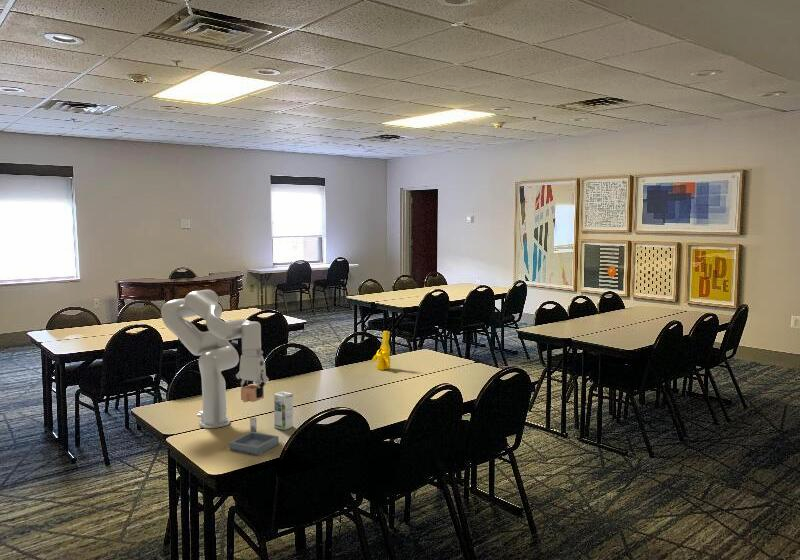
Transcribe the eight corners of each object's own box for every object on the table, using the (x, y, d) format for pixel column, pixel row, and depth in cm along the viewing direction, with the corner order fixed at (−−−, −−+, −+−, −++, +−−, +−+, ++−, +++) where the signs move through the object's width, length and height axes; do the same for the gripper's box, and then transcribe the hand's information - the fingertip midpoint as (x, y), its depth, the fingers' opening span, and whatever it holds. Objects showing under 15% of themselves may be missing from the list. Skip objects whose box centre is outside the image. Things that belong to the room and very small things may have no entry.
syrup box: (273, 427, 253) (273, 393, 252) (284, 423, 258) (283, 390, 257) (283, 430, 250) (283, 396, 249) (293, 426, 255) (293, 392, 254)
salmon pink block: (251, 395, 250) (251, 384, 250) (263, 397, 247) (263, 385, 247) (238, 401, 243) (237, 388, 242) (250, 403, 240) (250, 390, 239)
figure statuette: (368, 367, 357) (368, 330, 355) (379, 365, 362) (379, 328, 360) (387, 373, 343) (387, 334, 341) (397, 370, 348) (398, 332, 346)
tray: (229, 450, 229) (229, 442, 229) (251, 438, 241) (251, 431, 241) (257, 455, 224) (257, 447, 223) (278, 444, 235) (278, 436, 235)
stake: (249, 433, 247) (248, 419, 246) (253, 431, 249) (252, 417, 248) (254, 434, 246) (253, 420, 245) (257, 432, 248) (257, 418, 247)
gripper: (275, 352, 244) (275, 396, 245) (240, 348, 251) (241, 391, 253) (263, 356, 237) (264, 401, 239) (228, 352, 244) (229, 395, 246)
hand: (252, 395), depth 246 cm, fingers closed on salmon pink block, 6 cm apart
